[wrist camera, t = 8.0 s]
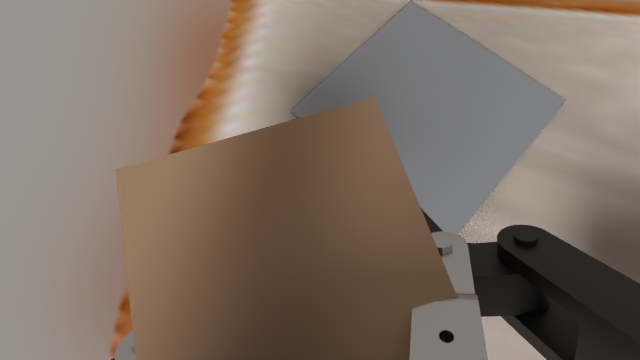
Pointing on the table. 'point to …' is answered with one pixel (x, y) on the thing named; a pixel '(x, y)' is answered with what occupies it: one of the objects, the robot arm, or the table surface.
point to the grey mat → (441, 109)
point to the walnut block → (279, 245)
